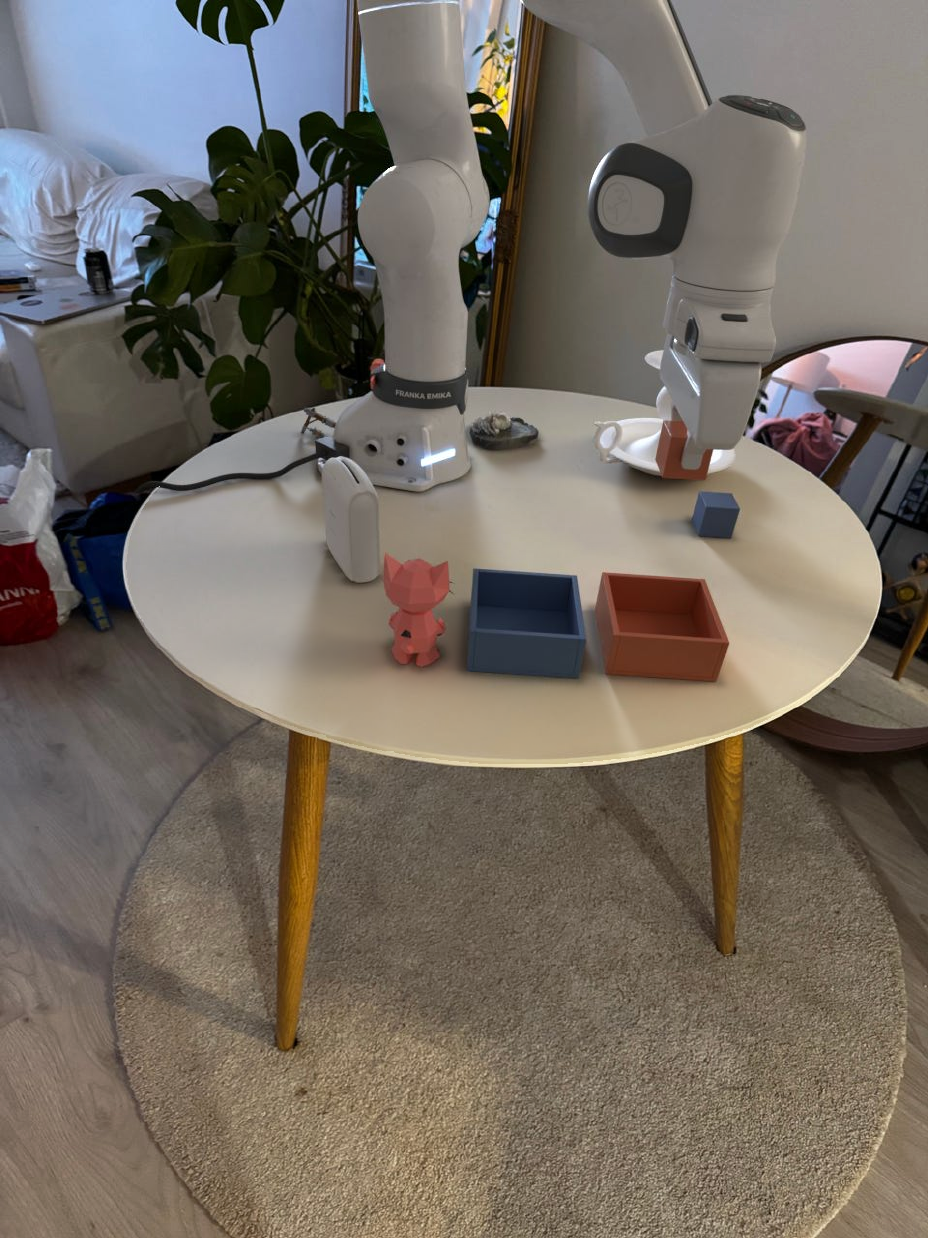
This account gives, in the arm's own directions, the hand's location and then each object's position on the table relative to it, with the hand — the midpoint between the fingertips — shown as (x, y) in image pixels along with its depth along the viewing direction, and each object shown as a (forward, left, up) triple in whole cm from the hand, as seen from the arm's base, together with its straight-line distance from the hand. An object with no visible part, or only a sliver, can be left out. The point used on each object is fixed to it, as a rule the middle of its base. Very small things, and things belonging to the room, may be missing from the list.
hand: (682, 454), depth 77 cm
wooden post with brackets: (-44, +38, -18) cm, 61 cm away
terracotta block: (0, 0, -2) cm, 2 cm away
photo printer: (-35, +3, -18) cm, 39 cm away
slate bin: (-15, -10, -18) cm, 25 cm away
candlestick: (+6, +36, -18) cm, 41 cm away
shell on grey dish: (-17, +43, -18) cm, 50 cm away
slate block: (+11, +17, -18) cm, 27 cm away
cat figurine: (-26, -14, -18) cm, 34 cm away
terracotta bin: (-1, -9, -18) cm, 20 cm away
